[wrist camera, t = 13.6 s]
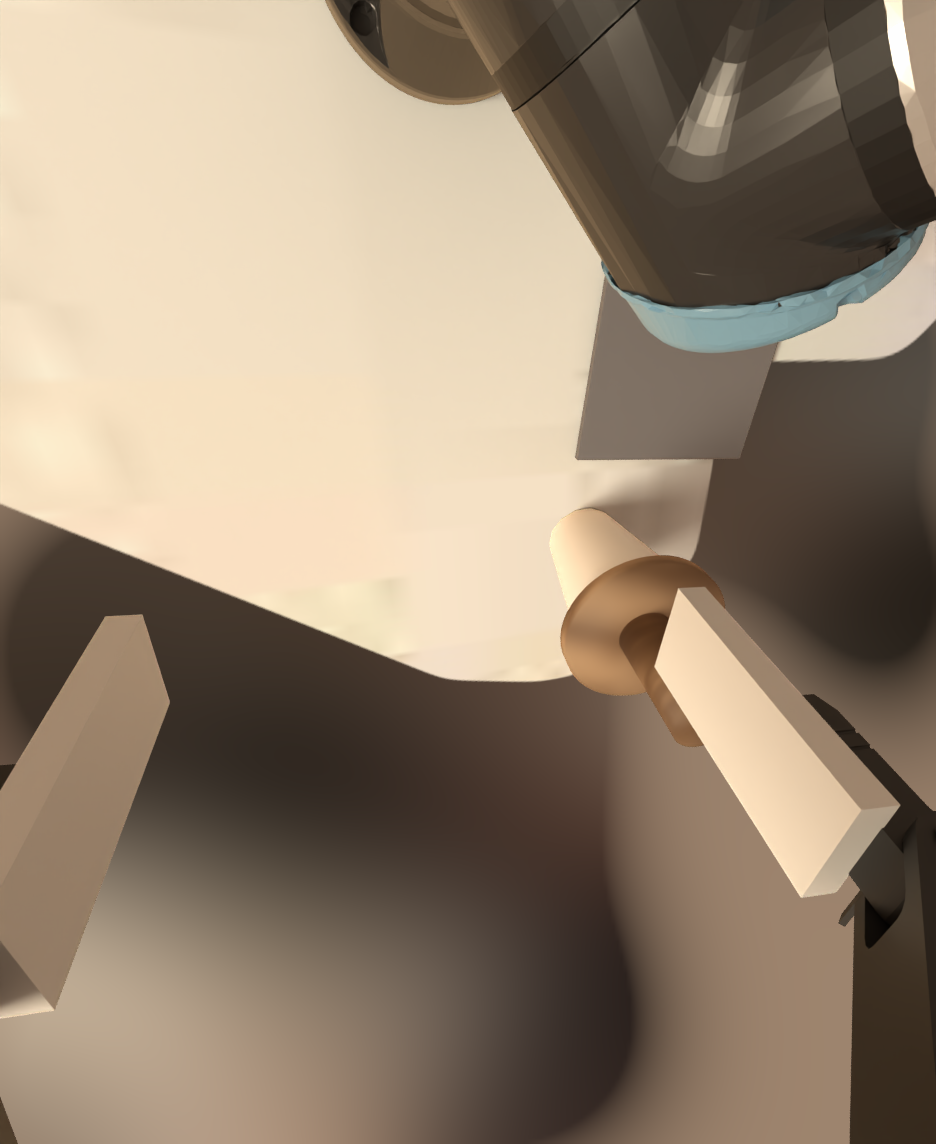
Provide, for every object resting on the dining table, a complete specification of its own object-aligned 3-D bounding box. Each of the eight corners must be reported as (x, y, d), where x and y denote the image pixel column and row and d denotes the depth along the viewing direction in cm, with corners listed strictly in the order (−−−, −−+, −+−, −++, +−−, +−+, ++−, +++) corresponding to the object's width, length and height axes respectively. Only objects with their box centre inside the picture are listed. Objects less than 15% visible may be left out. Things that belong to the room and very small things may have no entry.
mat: (608, 255, 40) (611, 256, 40) (797, 265, 43) (802, 266, 42) (575, 457, 48) (577, 460, 48) (735, 456, 51) (739, 458, 50)
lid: (574, 558, 38) (632, 653, 30) (737, 552, 40) (832, 640, 32) (550, 690, 45) (592, 797, 37) (691, 679, 47) (761, 779, 39)
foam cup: (635, 485, 51) (709, 562, 40) (628, 571, 56) (692, 660, 45) (531, 501, 50) (578, 584, 39) (533, 587, 55) (576, 681, 45)
